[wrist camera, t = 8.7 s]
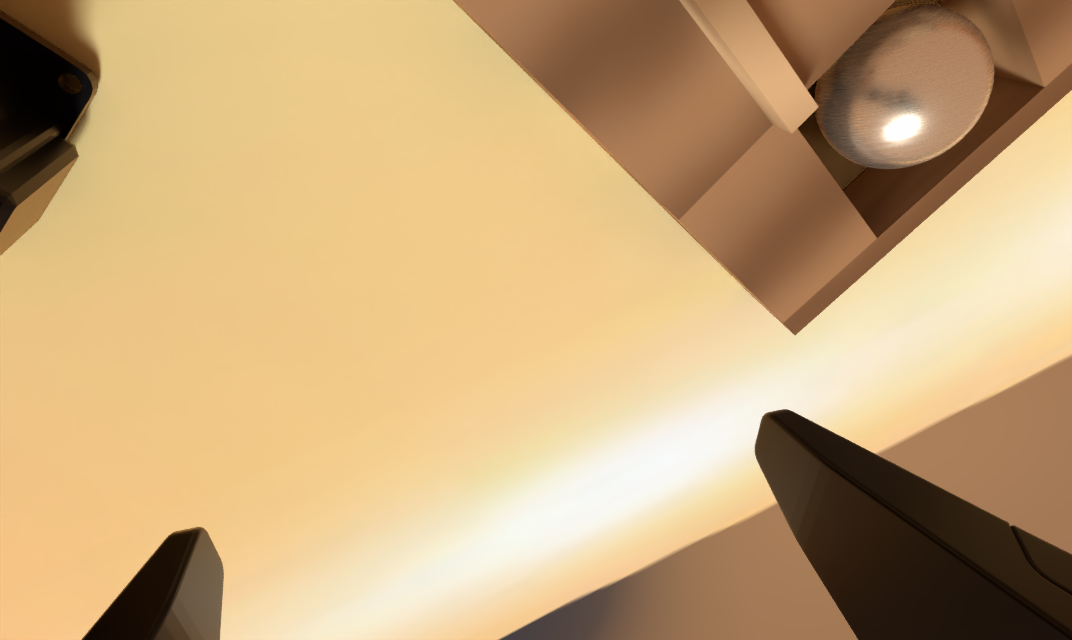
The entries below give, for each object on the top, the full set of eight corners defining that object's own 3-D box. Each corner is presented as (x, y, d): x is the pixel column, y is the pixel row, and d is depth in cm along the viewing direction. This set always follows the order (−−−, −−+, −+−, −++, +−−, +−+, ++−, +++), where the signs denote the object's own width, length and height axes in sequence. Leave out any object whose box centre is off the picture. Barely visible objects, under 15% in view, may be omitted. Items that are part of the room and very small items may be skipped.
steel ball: (805, 170, 23) (785, 35, 22) (945, 129, 22) (937, -16, 20) (856, 204, 19) (836, 38, 17) (1033, 155, 18) (1034, -29, 16)
